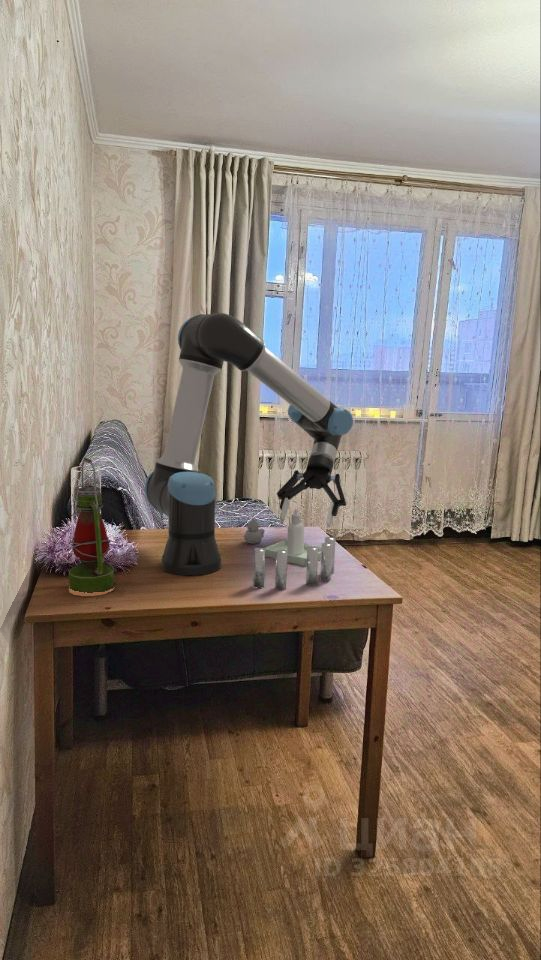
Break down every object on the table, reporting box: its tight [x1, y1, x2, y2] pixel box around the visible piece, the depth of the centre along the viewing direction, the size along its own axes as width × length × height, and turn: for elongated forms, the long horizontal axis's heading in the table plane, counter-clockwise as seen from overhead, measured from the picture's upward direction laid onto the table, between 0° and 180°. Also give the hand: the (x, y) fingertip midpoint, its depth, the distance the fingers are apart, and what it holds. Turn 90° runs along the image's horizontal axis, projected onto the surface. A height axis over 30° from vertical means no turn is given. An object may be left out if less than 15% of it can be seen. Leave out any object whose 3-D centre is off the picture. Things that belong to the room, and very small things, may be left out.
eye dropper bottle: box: [287, 509, 305, 555], centre depth 171 cm, size 4×6×12 cm
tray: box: [263, 539, 322, 567], centre depth 172 cm, size 14×11×2 cm
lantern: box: [68, 457, 116, 593], centre depth 142 cm, size 14×11×30 cm
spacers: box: [252, 536, 336, 591], centre depth 151 cm, size 7×23×9 cm, turn 122°
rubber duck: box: [243, 516, 266, 545], centre depth 183 cm, size 5×7×8 cm
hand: (304, 522), depth 177 cm, fingers open, 13 cm apart
